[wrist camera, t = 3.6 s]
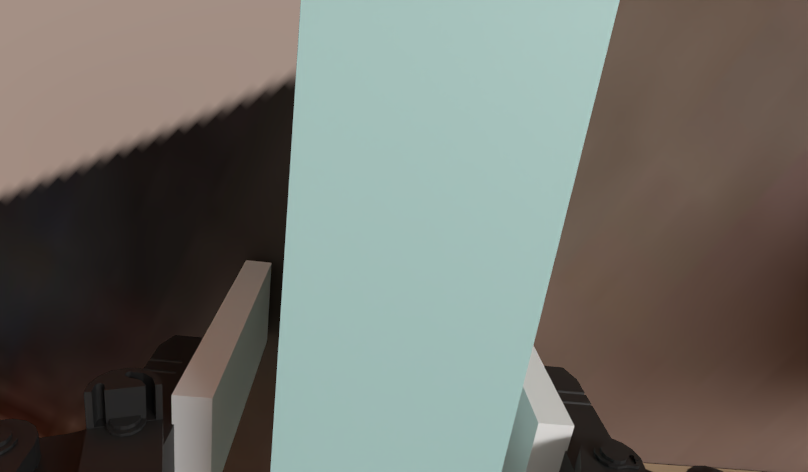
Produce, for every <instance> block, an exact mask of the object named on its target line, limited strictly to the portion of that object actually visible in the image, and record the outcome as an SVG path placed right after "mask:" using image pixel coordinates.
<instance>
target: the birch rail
mask: <svg viewBox="0 0 808 472" xmlns="http://www.w3.org/2000/svg"><path fill="white" fill-rule="evenodd" d="M643 464H644V466H645V469H647V470H649V471H652V472H686V471H687V469H689V468H691V466H677V465H663V464H650V463H643ZM715 469H718V470H721V471H723V472H760V471H747V470H733V469H719V468H715Z"/></svg>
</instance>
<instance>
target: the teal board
mask: <svg viewBox="0 0 808 472" xmlns="http://www.w3.org/2000/svg"><path fill="white" fill-rule="evenodd" d="M619 1H620V0H301V6H300V20H299V37H298V52H297V67H296V82H295V98H294V113H293V129H292V144H291V160H290V175H289V191H288V206H287V222H286V237H285V253H284V268H283V283H282V299H281V314H280V330H279V345H278V361H277V376H276V392H275V407H274V423H273V438H272V454H271V469H270V472H502V468H503V464H504V460H505V456H506V452H507V448H508V444H509V440H510V436H511V432H512V428H513V424H514V420H515V416H516V412H517V408H518V404H519V400H520V396H521V392H522V388H523V384H524V380H525V376H526V372H527V368H528V364H529V360H530V356H531V352H532V348H533V344H534V340H535V336H536V332H537V328H538V324H539V320H540V316H541V312H542V308H543V304H544V300H545V296H546V292H547V288H548V284H549V280H550V276H551V272H552V268H553V264H554V260H555V256H556V252H557V248H558V244H559V240H560V236H561V232H562V228H563V224H564V220H565V216H566V212H567V208H568V204H569V200H570V196H571V192H572V188H573V184H574V180H575V176H576V172H577V168H578V164H579V160H580V156H581V152H582V148H583V144H584V140H585V136H586V132H587V129H588V125H589V121H590V117H591V113H592V109H593V105H594V101H595V97H596V93H597V89H598V85H599V81H600V77H601V73H602V69H603V65H604V61H605V57H606V53H607V49H608V45H609V41H610V37H611V33H612V29H613V25H614V21H615V17H616V13H617V9H618V5H619Z"/></svg>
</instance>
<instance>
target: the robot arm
mask: <svg viewBox="0 0 808 472" xmlns="http://www.w3.org/2000/svg"><path fill="white" fill-rule="evenodd" d="M270 281H271V263H269V262H259V261H249V260H246V261H245V263H244V265H243V267H242V268H241V270H240V272H239V274H238V276H237V278H236V279H235V281H234V283H233V285H232V287H231V288H230V290H229V292H228V294H227V296H226V297H225V299H224V301H223V303H222V305H221V306H220V308H219V310H218V312H217V314H216V315H215V317H214V319H213V321H212V323H211V325H210V326H209V328H208V330H207V332H206V334H205V335H204V337H203V338H200V337H188V336H177V335H175V336H173V337H172V338H170V339H169V340H167V341H166V342H164V343H163V344H161V345H160V346H159V347H158V348H157V350H156V351H155V353H154V354H153V356H152V357H151V360H150V361H148V363H147V364H146V366H145V367H144V369H141V368H125V369H119V370H114V371H110V372H108V373H106V374H103V375H101V376H98V377H97V378H96V379H94V380H93V381H92V382H91V383H89V384H88V386H87V388H86V389H85V391H84V402H85V415H86V428H87V429H85V430H82V431H79V432H75V433H70V434H64V435H57V436H50V437H43V438H39V436H38V432H37V429H36V427H35V426H34V425H33V424H31V423H29V422H28V421H25V420H18V419H5V420H0V472H223V469H224V466H225V463H226V460H227V457H228V454H229V451H230V448H231V445H232V442H233V440H234V437H235V434H236V431H237V428H238V425H239V422H240V419H241V416H242V413H243V410H244V407H245V404H246V401H247V398H248V395H249V393H250V390H251V387H252V384H253V381H254V378H255V375H256V372H257V369H258V366H259V363H260V360H261V357H262V354H263V351H264V349H265V346H266V343H267V334H268V317H269V299H270ZM590 404H591V403H590V401H589V400H588V398H587V396H586V395H584V391H583V389H582V388H581V386H580V384H579V383H578V381H577V379H575V378H574V377H573V376H572V375H571V374H570V373H568V372H567V371H566V370H565V369H564V368H561V367H550V366H544V365H543V363H542V361H541V359H540V357H539V355H538V354H537V352H536V350H535V348H534V346H533V348H532V352H531V356H530V360H529V364H528V368H527V372H526V376H525V380H524V384H523V388H522V392H521V396H520V400H519V404H518V408H517V412H516V416H515V420H514V424H513V428H512V432H511V436H510V440H509V444H508V448H507V452H506V456H505V460H504V464H503V468H502V472H652V471H649V470H647V469H645V466H644V464H643V462H642V460H641V458H640V457H639V456H638V455H637V454H636V453H635V452H634V451H633V450H632V449H631V448H629V447H627V446H626V445H624V444H623V443H621V442H619V441H616V440H614V439H611V437H610V435H609V434H608V432H607V430H606V429H605V427H604V425H603V424H602V422H601V420H600V418H599V417H598V415H597V413H596V412H595V410H594V408H593V406H591V405H590ZM686 472H723V471H721V470H718V469H715V468H711V467H707V466H693V467H691V468H689V469H687V471H686Z"/></svg>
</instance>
